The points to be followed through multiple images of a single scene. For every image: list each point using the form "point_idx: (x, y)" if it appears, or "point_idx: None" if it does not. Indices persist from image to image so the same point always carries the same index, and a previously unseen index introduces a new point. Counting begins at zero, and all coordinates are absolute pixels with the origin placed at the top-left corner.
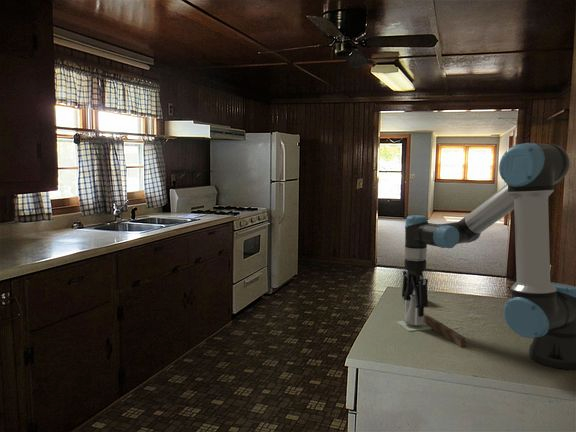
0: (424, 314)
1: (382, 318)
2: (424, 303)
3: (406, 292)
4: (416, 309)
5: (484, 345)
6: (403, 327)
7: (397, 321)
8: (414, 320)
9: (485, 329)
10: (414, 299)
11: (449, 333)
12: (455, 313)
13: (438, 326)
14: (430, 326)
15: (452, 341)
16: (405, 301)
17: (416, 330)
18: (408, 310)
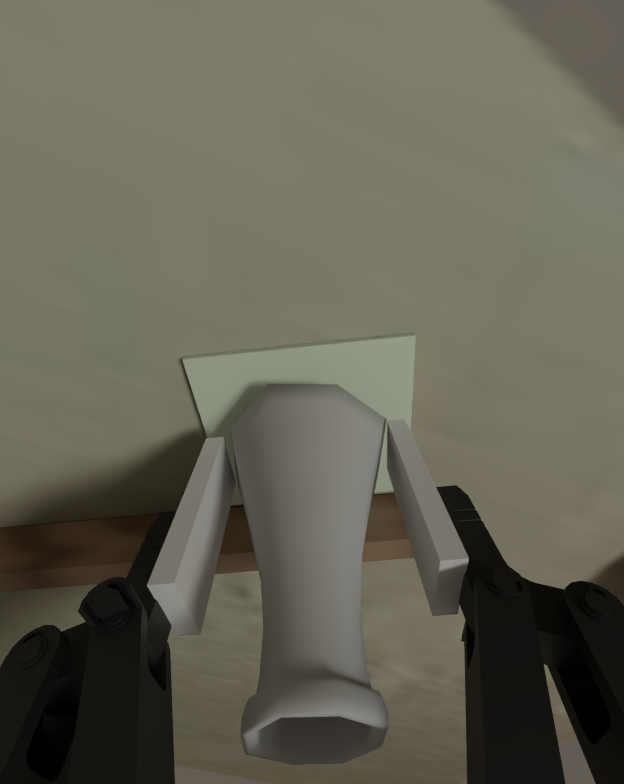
0: (366, 550)
1: (555, 246)
2: (54, 707)
3: (508, 722)
4: (165, 556)
5: (12, 608)
6: (272, 348)
7: (410, 348)
8: (235, 454)
9: (221, 659)
10: (260, 673)
11: (33, 555)
12: (442, 641)
13: None
14: None
15: (26, 526)
16: (453, 548)
17: (202, 414)
18: (318, 483)
